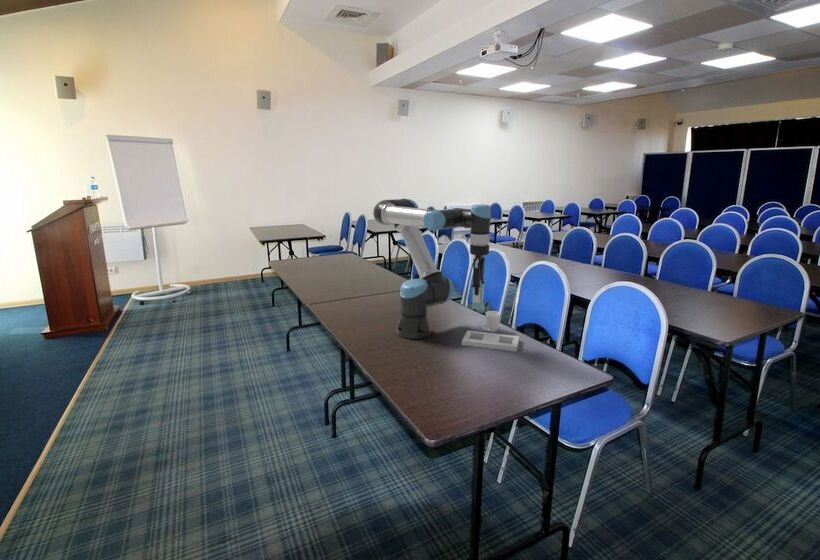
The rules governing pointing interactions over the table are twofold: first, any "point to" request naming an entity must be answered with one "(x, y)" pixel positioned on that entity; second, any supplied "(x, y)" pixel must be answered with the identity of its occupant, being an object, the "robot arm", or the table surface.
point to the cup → (491, 320)
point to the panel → (491, 340)
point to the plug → (480, 305)
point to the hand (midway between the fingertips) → (477, 300)
